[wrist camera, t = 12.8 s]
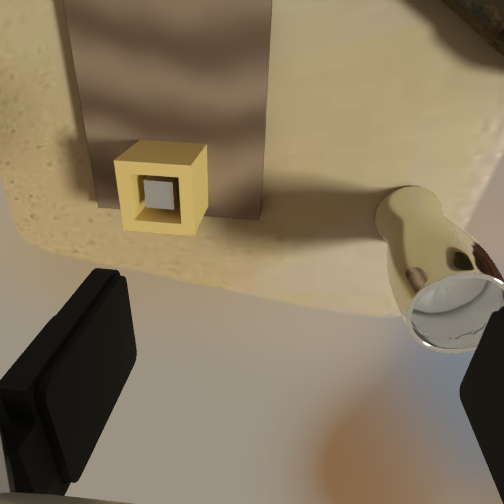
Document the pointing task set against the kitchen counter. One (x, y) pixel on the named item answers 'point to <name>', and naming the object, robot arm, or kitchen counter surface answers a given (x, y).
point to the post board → (175, 91)
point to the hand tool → (483, 18)
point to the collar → (170, 165)
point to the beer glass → (437, 272)
